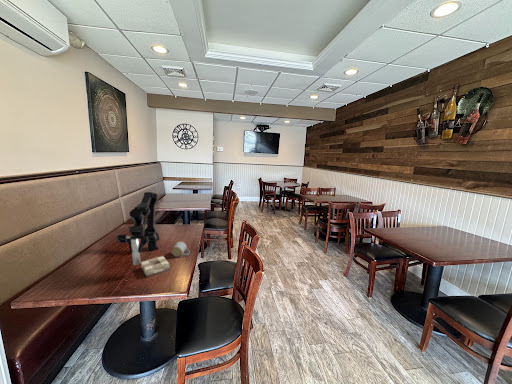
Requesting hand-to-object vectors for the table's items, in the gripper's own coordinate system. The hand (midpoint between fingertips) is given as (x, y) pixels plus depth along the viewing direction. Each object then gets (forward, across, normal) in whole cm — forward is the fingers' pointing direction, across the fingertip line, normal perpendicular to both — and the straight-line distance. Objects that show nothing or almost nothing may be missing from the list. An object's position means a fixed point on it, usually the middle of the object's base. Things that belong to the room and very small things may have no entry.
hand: (135, 252), depth 111 cm
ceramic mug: (-5, +21, +25) cm, 32 cm away
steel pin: (+4, 0, +6) cm, 7 cm away
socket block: (+6, +8, +13) cm, 16 cm away
